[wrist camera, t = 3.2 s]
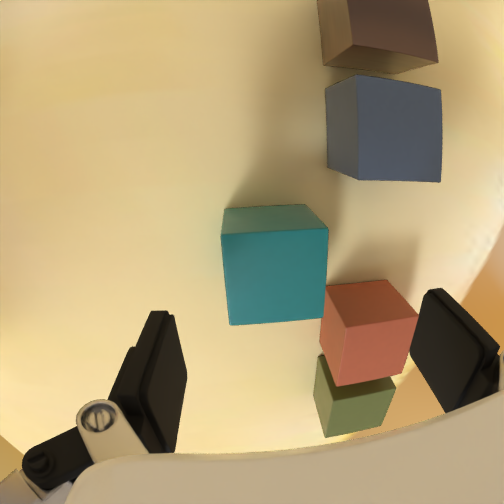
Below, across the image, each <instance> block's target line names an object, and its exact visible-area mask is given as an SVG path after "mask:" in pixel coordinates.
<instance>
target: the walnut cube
mask: <svg viewBox="0 0 504 504" xmlns="http://www.w3.org/2000/svg"><path fill="white" fill-rule="evenodd" d="M317 6H318V15H319V24H320V33H321V44H322V55H323V65H324V66H336V67H346V68H355V69H363V70H371V71H377V72H384V73H390V74H398V73H401V72H405V71H408V70H412V69H415V68H419V67H423V66H427V65H431V64H435V63H438V54H437V46H436V40H435V34H434V28H433V22H432V17H431V12H430V8H429V3H428V0H317Z"/></svg>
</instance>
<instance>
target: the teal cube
mask: <svg viewBox="0 0 504 504" xmlns="http://www.w3.org/2000/svg"><path fill="white" fill-rule="evenodd" d="M328 233H329V229H328V227H327V226H326V225H325V224H324V223H323V222H322V221H321V220H320V219H319V218H318V217H317V216H316V215H315V214H314V213H313V212H312V211H311V210H310V209H309V208H308V207H307V206H306V205H305V204H300V205H278V206H260V207H243V208H228V209H224V215H223V222H222V230H221V246H222V257H223V267H224V278H225V288H226V297H227V307H228V316H229V324H230V325H247V324H261V323H274V322H285V321H296V320H306V319H316V318H323V316H324V304H325V290H326V275H327V257H328Z"/></svg>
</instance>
